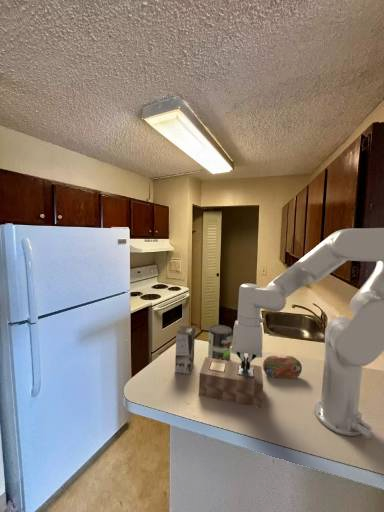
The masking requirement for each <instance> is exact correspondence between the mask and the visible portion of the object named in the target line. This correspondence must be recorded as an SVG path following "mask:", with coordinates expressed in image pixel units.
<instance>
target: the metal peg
mask: <svg viewBox="0 0 384 512" xmlns="http://www.w3.org/2000/svg"><path fill="white" fill-rule="evenodd" d="M245 369H246V367H245ZM238 375H239V376H245V377H251V378H253V368H250V370H248V373H245V372H244V373H243V369H242V368H241V366H239V371H238Z"/></svg>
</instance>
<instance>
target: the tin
mask: <svg viewBox="0 0 384 512" xmlns="http://www.w3.org/2000/svg"><path fill="white" fill-rule="evenodd" d="M302 368H303V366H302V364H301V362H300V361H299V360H298V358H296V357H294V356H291V355H270V356H267V357H266V358H265V359H264V361H263V363H262V371H264V374H265V375H266V377H268V378H269V379H271V380H294V379H296V378H298V377H299V376H300V375H301V373H302V371H303V369H302Z"/></svg>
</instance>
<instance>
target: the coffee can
mask: <svg viewBox="0 0 384 512" xmlns="http://www.w3.org/2000/svg"><path fill="white" fill-rule="evenodd" d="M232 336H233V329H232V328H231V327H229V326H228V325H223V324H214V325H213V324H212V325H210V326H209V328H208V348H207V349H208V350H207V352H208V353H207V357H208V358H214V359H220V360H226V361H231V348H232Z"/></svg>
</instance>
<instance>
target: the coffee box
mask: <svg viewBox="0 0 384 512" xmlns="http://www.w3.org/2000/svg"><path fill="white" fill-rule="evenodd" d="M175 334H176V335H175V337H176V338H175V339H176V340H175V358H174V359H175V361H174V363H175V365H174V373H180V374H187V375H190V374H191V371H192V368H193V365H194V363H195V343H196V342H195V339H196V337H195V336H196V326H188V325H187V326H186V325H181V326H180V327H179V329H178V330H177V332H176V333H175Z"/></svg>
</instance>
